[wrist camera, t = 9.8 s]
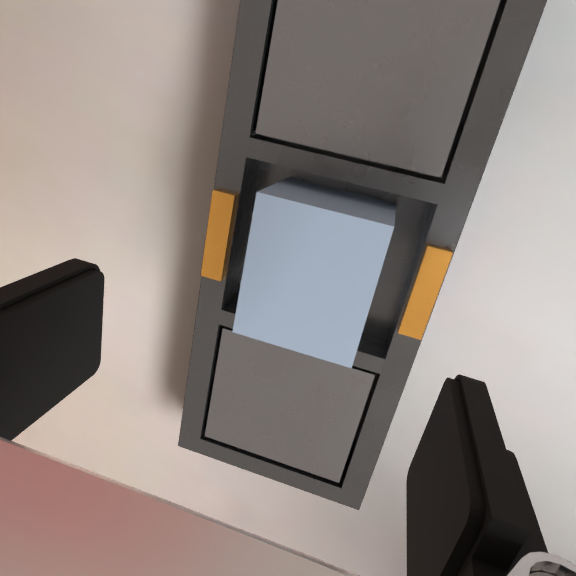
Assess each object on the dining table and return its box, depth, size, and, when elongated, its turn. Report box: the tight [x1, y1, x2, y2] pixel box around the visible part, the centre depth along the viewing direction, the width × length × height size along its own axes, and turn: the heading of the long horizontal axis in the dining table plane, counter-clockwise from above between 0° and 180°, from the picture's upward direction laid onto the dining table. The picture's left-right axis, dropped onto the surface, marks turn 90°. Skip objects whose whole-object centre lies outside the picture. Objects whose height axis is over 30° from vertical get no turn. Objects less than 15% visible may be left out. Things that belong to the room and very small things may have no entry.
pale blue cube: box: [232, 177, 396, 368], centre depth 19 cm, size 5×6×5 cm
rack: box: [178, 0, 547, 510], centre depth 20 cm, size 10×25×3 cm, turn 168°
